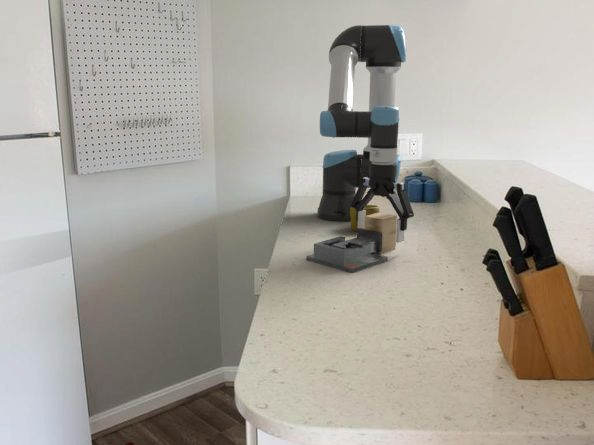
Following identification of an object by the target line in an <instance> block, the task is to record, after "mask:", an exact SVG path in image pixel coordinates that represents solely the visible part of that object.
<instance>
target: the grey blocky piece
mask: <svg viewBox="0 0 594 445" xmlns="http://www.w3.org/2000/svg"><path fill="white" fill-rule="evenodd" d="M382 235H383V233H381V232H377V231H372V230H368V229H363V228H357V232H356V237H354V238H349V239H345V241H343V242H339V243H336V244H332V245H331V246H333V247H337V248H341V249H346V248H350V247H353V246H354V247H358V248H363V245H360V244H363V243H366V242H367V243H371V253H374V252H375V251H378V252H380V251H382Z"/></svg>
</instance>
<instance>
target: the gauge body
mask: <svg viewBox="0 0 594 445" xmlns="http://www.w3.org/2000/svg"><path fill="white" fill-rule="evenodd" d="M343 241H346V237H345V236H337V237H333V238H329V239H326V240H323V241H319V242H315V243H313V253H312V254H308V255H306V258H305V260H306V261H310V262H314V263H317V264H320V265H323V266H328V267H331V268H334V269H337V270H340V271H344V272H347V273H351V274H353V273H357V272H358V271H362V270H365V269H368V268H370V267H373V265H374V266H376V264H377V265H379V264H382V263H384V262H388V258H389V257H388V256H385V255H382V254H378V253H374V252H372V253H371V243H367V242H366V243H363V244H360V245H363V248H358V247H354V246H353V247H350V248H346V249H341V248H337V247H333V246H331V245H332V244H336V243H339V242H343ZM378 263H379V264H378Z"/></svg>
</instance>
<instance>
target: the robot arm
mask: <svg viewBox="0 0 594 445" xmlns="http://www.w3.org/2000/svg"><path fill="white" fill-rule="evenodd" d="M406 52H407V50H406V38H405V32H404V29H403V27H402V26H400V25H393V24H391V25H390V24H382V25H381V24H379V25H377V24H375V25H361V24H360V25H359V24H358V25H353V26H350V27H348V28H346V29H344V30H343V31H341V33H340V34H338V35H337V36H336V38H334V40H333V42H332V43H331V46H330V48H329V53H328V61H329V64H330V78H329V90H328V91H329V92H328V102H327V104H328V105H327V110H323V111H321V112H320V115H319V134H320V135H321V136H322V137H325V138H334V139H335V138H359V139H360V138H365V139H366V138H367V145H366V146H364V148H363V149H362V150H363V151H362V153H361V154H358V152H357V150H356V149H343V150H335V151H331V152H328V153H326V154H325V155H324V156H323V161H322V163H323V164H322V195H321V199H320V202H319V204H318V205H319V206H318V207H317V212H316V215H317V217H318V218H319V219H323V220H326V221H335V222H336V221H338V222H339V221H341V222H342V221H344V222H345V221H351V217H350V208H351V207H352V208H355V209H356V221H358V228H363V229H364V228H365V216H366V210H363V209H364V208H365V207H366V205H369V204H370V202H371V200H372V199H373V198H374V197H375V196H376V197H379V196H380V197H383V198H384V197H385V198H386V199H387V200H388V201H389V203H390V204H391V206H392V207H393V209H394V211H395V212H396V214H397V217H398V218H397V225H396V243H397V244H398V243H402V242H404V241H405V231H407V229H408V228H407V227H408V219H410V218H413V217H414V216H415V214H414V210H413V207H412V205H411V202H410V199H409V197H408V193H407V191H406V190H407V189H406V183H405V182H404V181H402V182H398V180H399V176H400V171H401V165H402V164H401V162H402V155H401V154H398V142H399V141H398V140H399V138H398V137H399V126H400V125H399V124H400V123H399V121H400V109H399V107H398V106H395V104H396V84H397V83H396V82H397V81H396V80H397V73H398V72H399V70H400V69H401V68H402V63H406V60H407V54H406ZM358 63H365V69H366V70H367V71H368V72H369V96H368V97H369V100H368V101H369V102H368V111H354V98H355V96H354V93H355V73H356V72H355V71H356V70H355V69H356V66H357V64H358ZM356 189H357V191H356ZM367 189H368V191H367ZM366 191H367V192H366Z"/></svg>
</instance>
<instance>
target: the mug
mask: <svg viewBox="0 0 594 445" xmlns="http://www.w3.org/2000/svg"><path fill="white" fill-rule="evenodd" d="M363 210H366V216H367V215H371V214H375V213H379V212H380V211H381V210H380V206H379V205H377V204H376V205H375V204H367V205H366V207H365V208H364V209H363ZM350 217H351V220H350V226H351V229H352V231H353V232H355V233H357V228H358V221H356V209H355V208H352V207H351V208H350Z"/></svg>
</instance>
